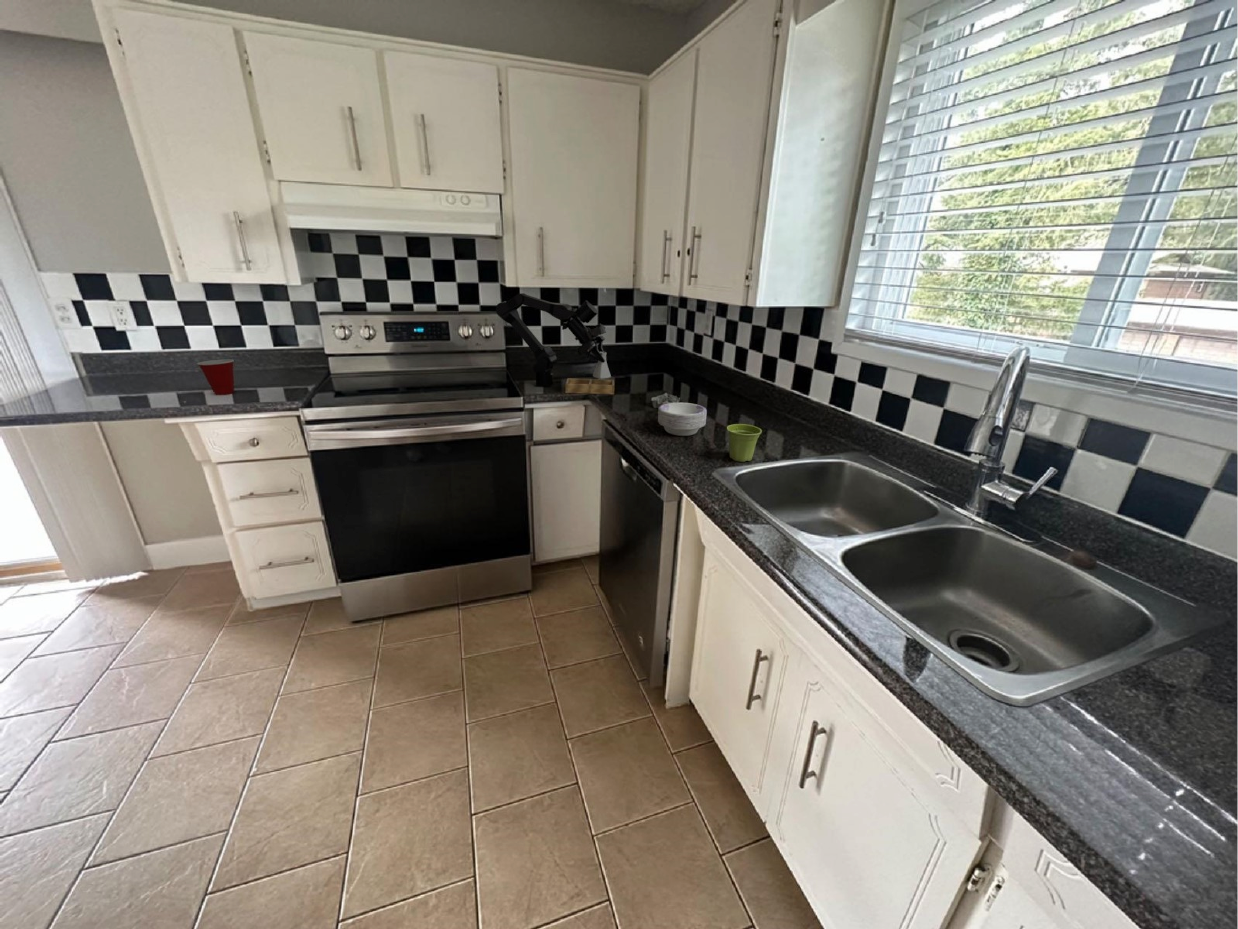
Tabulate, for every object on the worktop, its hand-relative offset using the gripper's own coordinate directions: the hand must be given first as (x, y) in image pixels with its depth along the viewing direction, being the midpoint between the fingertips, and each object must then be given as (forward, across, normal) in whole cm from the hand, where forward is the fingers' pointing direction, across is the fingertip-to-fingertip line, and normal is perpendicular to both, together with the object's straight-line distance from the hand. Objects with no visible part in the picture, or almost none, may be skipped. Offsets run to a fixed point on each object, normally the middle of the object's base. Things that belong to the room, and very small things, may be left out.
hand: (605, 361), depth 202 cm
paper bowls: (+35, -41, -18) cm, 57 cm away
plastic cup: (-82, -57, +101) cm, 142 cm away
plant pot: (+49, -58, -32) cm, 83 cm away
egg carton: (+28, -13, -11) cm, 33 cm away
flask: (+4, 0, +6) cm, 7 cm away
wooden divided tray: (+5, -1, +13) cm, 14 cm away
